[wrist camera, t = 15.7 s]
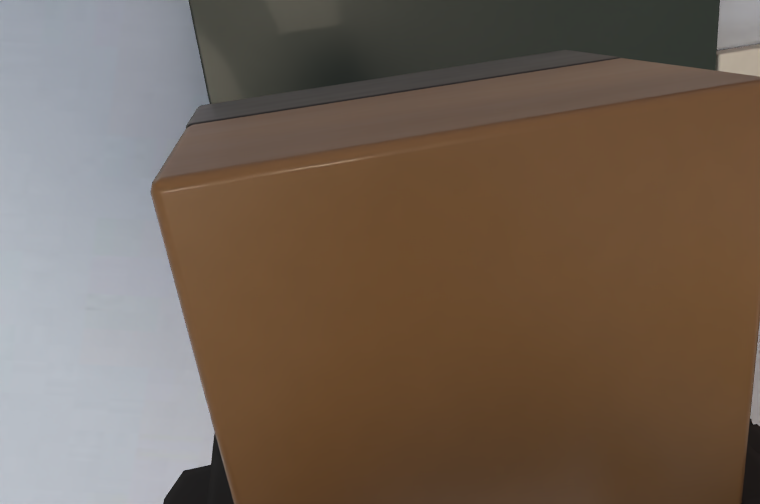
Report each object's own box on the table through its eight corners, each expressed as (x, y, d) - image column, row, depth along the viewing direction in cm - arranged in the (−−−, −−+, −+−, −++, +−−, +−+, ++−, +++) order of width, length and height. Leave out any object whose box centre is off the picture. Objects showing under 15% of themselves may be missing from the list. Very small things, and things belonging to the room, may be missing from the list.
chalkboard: (188, -13, 21) (185, -14, 20) (707, -74, 23) (725, -77, 22) (290, 486, 28) (291, 502, 27) (679, 406, 30) (692, 418, 29)
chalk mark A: (702, 52, 25) (719, 53, 24) (760, 43, 25) (779, 44, 24) (697, 155, 26) (713, 160, 25) (752, 146, 26) (770, 150, 25)
